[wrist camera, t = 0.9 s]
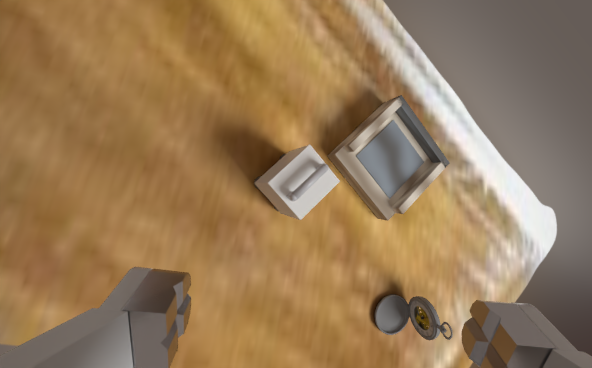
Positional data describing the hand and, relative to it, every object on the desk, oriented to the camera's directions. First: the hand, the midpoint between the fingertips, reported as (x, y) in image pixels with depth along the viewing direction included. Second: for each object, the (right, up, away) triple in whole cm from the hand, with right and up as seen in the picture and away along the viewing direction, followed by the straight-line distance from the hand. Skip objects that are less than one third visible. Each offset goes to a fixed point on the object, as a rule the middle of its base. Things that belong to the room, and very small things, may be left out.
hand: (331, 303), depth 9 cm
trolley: (-3, +4, +40) cm, 40 cm away
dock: (+13, +7, +45) cm, 48 cm away
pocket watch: (+16, -19, +46) cm, 52 cm away
